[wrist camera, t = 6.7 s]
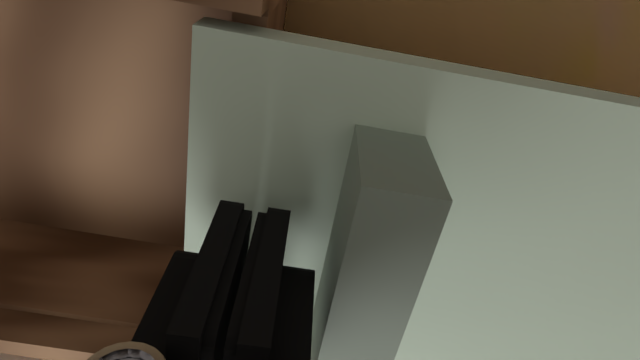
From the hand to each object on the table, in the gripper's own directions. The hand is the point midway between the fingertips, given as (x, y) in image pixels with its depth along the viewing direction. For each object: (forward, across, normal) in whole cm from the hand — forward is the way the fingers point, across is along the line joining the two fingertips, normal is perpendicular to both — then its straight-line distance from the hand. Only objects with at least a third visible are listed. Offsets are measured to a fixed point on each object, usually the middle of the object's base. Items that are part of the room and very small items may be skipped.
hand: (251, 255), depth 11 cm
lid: (+2, -6, 0) cm, 6 cm away
